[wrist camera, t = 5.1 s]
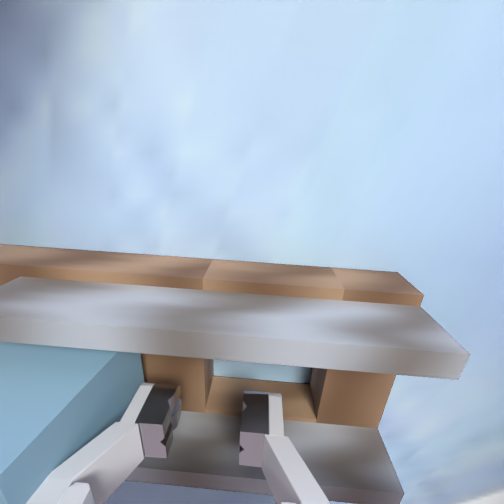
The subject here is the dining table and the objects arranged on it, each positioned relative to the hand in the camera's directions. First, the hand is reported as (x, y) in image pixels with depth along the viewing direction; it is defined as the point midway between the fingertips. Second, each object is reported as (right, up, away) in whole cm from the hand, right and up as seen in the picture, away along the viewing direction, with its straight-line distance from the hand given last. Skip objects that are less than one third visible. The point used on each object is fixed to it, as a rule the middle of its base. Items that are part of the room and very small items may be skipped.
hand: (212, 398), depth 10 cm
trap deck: (-3, +2, +3) cm, 5 cm away
